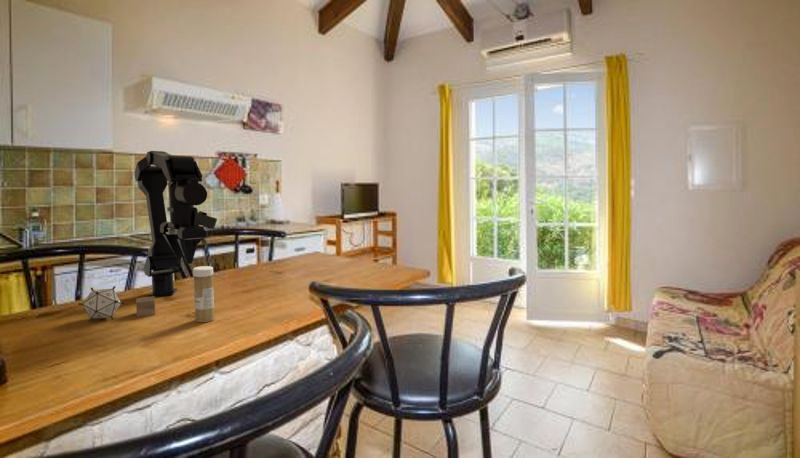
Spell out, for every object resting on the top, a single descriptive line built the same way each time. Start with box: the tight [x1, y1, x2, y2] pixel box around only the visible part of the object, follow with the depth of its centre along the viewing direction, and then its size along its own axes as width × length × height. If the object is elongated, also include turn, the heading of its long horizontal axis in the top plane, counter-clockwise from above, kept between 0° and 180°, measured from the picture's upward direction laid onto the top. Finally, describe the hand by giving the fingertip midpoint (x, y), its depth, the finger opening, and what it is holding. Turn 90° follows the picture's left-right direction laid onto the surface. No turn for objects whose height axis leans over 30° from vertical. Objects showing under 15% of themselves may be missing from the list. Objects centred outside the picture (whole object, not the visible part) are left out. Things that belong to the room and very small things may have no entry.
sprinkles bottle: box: [192, 265, 216, 323], centre depth 102 cm, size 5×5×14 cm
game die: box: [77, 285, 125, 323], centre depth 103 cm, size 9×8×10 cm
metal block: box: [135, 296, 156, 318], centre depth 107 cm, size 4×4×4 cm
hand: (184, 261), depth 111 cm, fingers open, 8 cm apart
